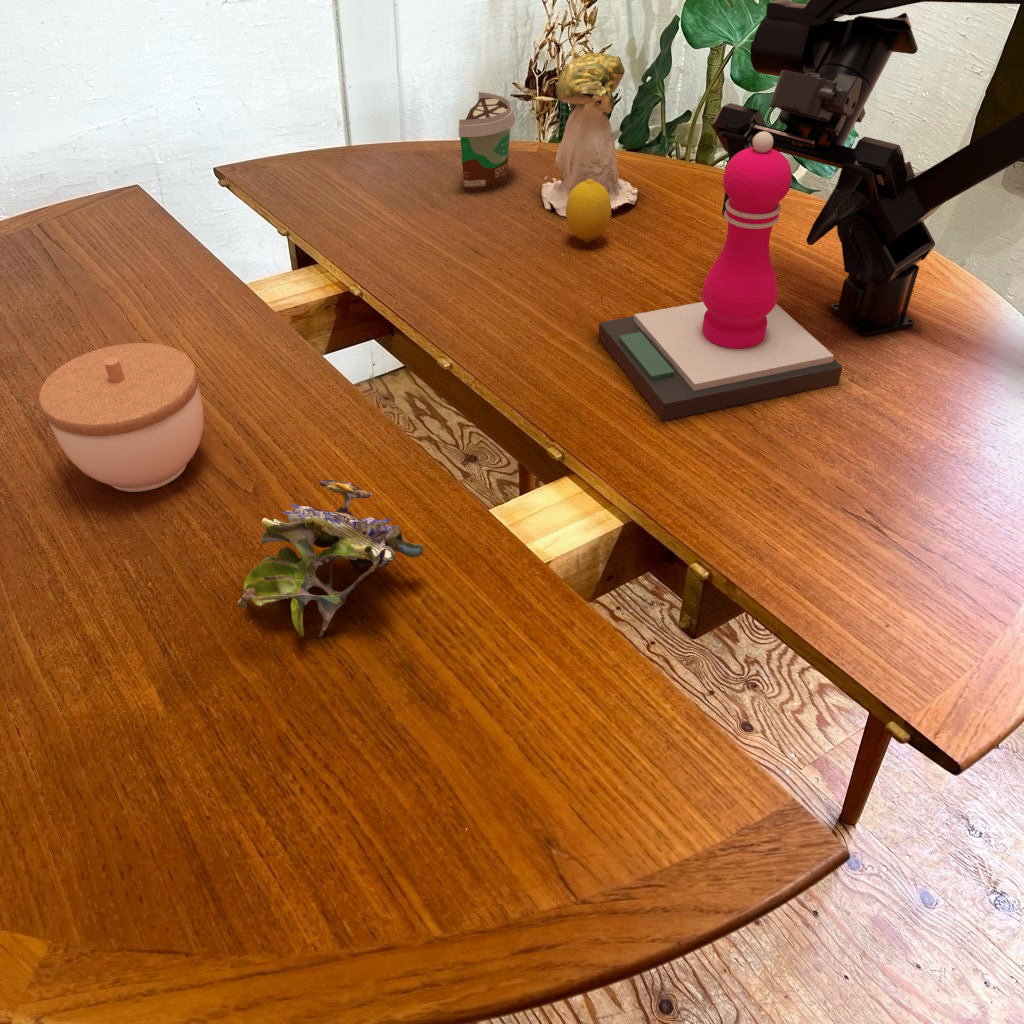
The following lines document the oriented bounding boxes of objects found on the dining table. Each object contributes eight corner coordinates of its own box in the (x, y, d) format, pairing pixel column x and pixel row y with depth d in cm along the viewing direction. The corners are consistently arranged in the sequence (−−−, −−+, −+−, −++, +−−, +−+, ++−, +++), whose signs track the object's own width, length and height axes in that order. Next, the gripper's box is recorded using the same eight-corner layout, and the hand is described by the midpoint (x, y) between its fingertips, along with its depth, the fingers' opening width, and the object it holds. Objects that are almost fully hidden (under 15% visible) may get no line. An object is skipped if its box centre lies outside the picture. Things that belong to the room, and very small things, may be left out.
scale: (757, 308, 106) (761, 285, 104) (838, 384, 95) (844, 359, 93) (598, 338, 102) (599, 315, 100) (662, 421, 90) (665, 396, 88)
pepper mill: (694, 348, 95) (720, 144, 82) (699, 312, 100) (724, 115, 87) (769, 355, 94) (808, 149, 80) (770, 318, 99) (806, 120, 86)
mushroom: (652, 211, 126) (665, 63, 114) (560, 225, 123) (564, 74, 111) (617, 178, 134) (626, 37, 123) (530, 190, 132) (531, 46, 120)
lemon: (617, 238, 120) (621, 175, 115) (596, 256, 116) (599, 191, 111) (578, 229, 122) (580, 167, 117) (556, 245, 119) (557, 182, 114)
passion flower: (365, 613, 79) (444, 514, 74) (331, 701, 70) (418, 595, 65) (246, 541, 77) (318, 433, 71) (194, 622, 68) (272, 505, 62)
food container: (505, 199, 130) (504, 123, 123) (461, 196, 131) (458, 120, 124) (523, 165, 139) (522, 93, 132) (481, 162, 140) (479, 90, 133)
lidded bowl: (67, 445, 89) (26, 341, 81) (205, 413, 92) (177, 310, 85) (78, 528, 80) (33, 419, 73) (230, 489, 83) (201, 381, 76)
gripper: (735, 13, 90) (657, 165, 91) (929, 51, 81) (840, 219, 82) (764, 80, 99) (693, 217, 100) (940, 121, 90) (860, 271, 91)
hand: (765, 229), depth 93 cm, fingers open, 9 cm apart
